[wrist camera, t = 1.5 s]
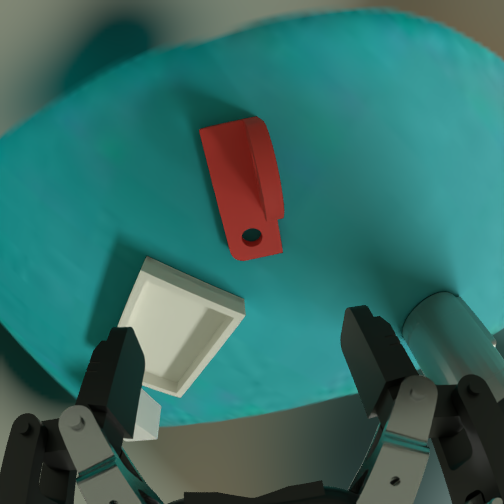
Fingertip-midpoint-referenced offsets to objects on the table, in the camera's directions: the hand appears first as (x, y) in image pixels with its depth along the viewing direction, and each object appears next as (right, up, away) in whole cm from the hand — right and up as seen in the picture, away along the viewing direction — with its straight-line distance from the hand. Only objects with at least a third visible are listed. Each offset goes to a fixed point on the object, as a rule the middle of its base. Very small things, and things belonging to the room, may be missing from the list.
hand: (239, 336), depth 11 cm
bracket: (0, +8, +15) cm, 17 cm away
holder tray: (-9, -6, +21) cm, 24 cm away
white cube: (-17, -19, +28) cm, 38 cm away
